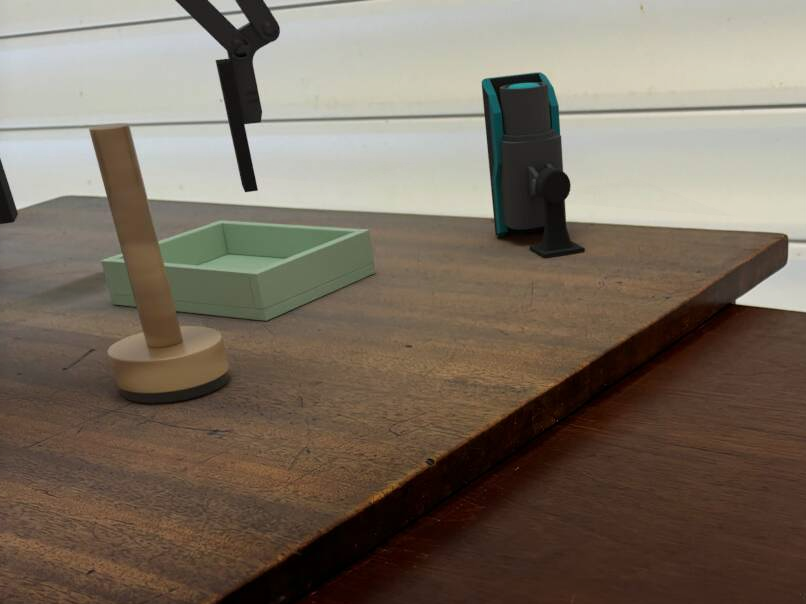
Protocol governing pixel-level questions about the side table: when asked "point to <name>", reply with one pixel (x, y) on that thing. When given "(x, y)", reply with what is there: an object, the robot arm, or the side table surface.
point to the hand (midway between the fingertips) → (132, 204)
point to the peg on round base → (151, 292)
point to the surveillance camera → (527, 160)
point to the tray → (252, 267)
